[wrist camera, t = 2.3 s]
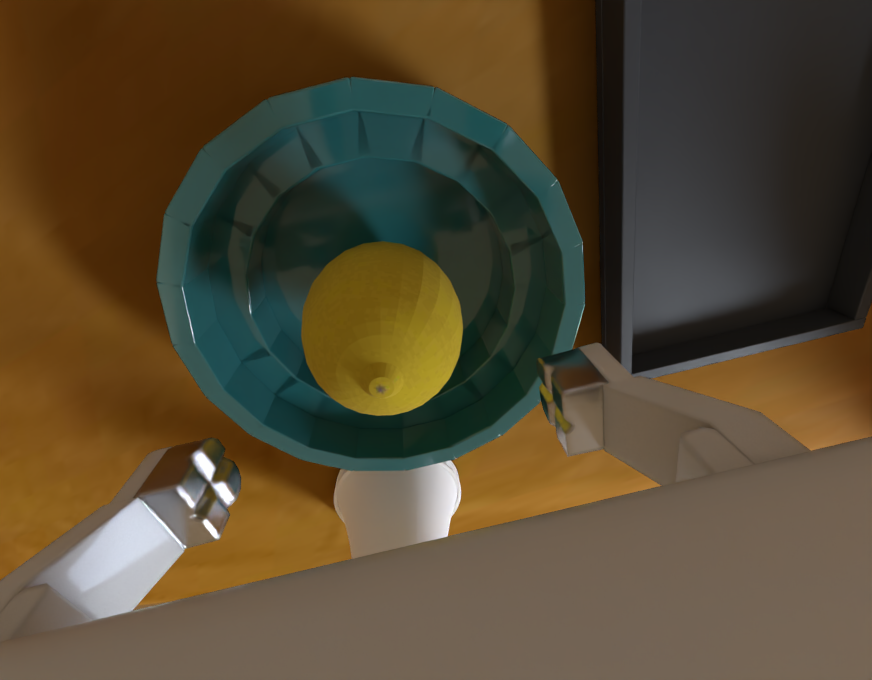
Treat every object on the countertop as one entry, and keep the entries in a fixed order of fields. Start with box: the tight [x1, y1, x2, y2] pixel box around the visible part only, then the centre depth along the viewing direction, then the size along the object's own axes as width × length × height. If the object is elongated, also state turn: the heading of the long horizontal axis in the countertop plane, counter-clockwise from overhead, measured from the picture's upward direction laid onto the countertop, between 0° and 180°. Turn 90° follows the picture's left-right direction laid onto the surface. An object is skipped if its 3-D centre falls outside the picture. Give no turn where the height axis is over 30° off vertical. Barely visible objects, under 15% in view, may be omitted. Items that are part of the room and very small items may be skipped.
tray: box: [595, 0, 872, 379], centre depth 16 cm, size 19×12×2 cm, turn 12°
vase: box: [334, 460, 461, 559], centre depth 20 cm, size 8×8×10 cm
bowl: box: [156, 76, 585, 471], centre depth 16 cm, size 15×15×4 cm
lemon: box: [301, 241, 463, 416], centre depth 14 cm, size 6×6×8 cm
